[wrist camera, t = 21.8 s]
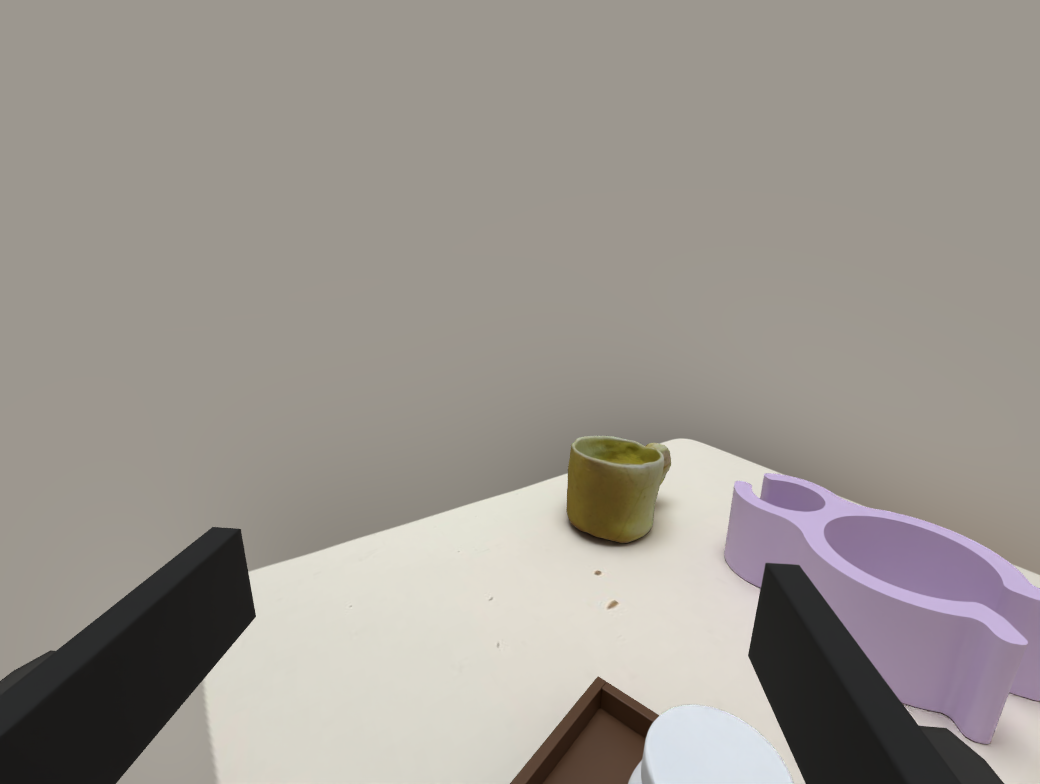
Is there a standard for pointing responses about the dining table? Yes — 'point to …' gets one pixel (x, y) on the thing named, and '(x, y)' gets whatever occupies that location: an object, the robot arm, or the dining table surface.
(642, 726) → the brown square tray
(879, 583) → the clip
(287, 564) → the dining table surface
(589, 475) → the mug
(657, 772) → the pill bottle
